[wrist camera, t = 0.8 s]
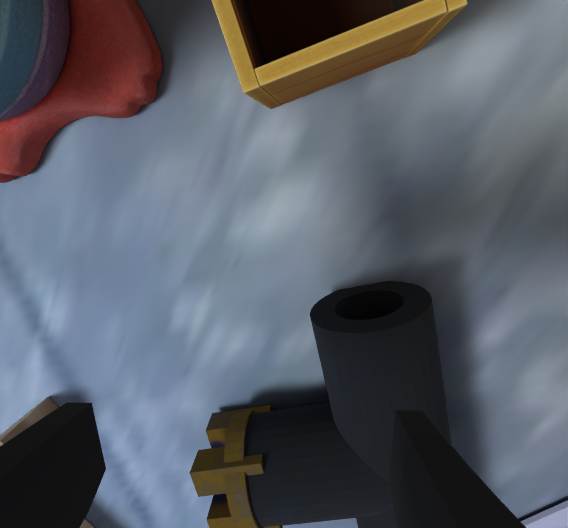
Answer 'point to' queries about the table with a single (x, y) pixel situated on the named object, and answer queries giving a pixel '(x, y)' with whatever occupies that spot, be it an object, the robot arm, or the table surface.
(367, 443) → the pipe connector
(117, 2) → the stacking bear
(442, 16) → the spider toy trap
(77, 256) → the table surface
